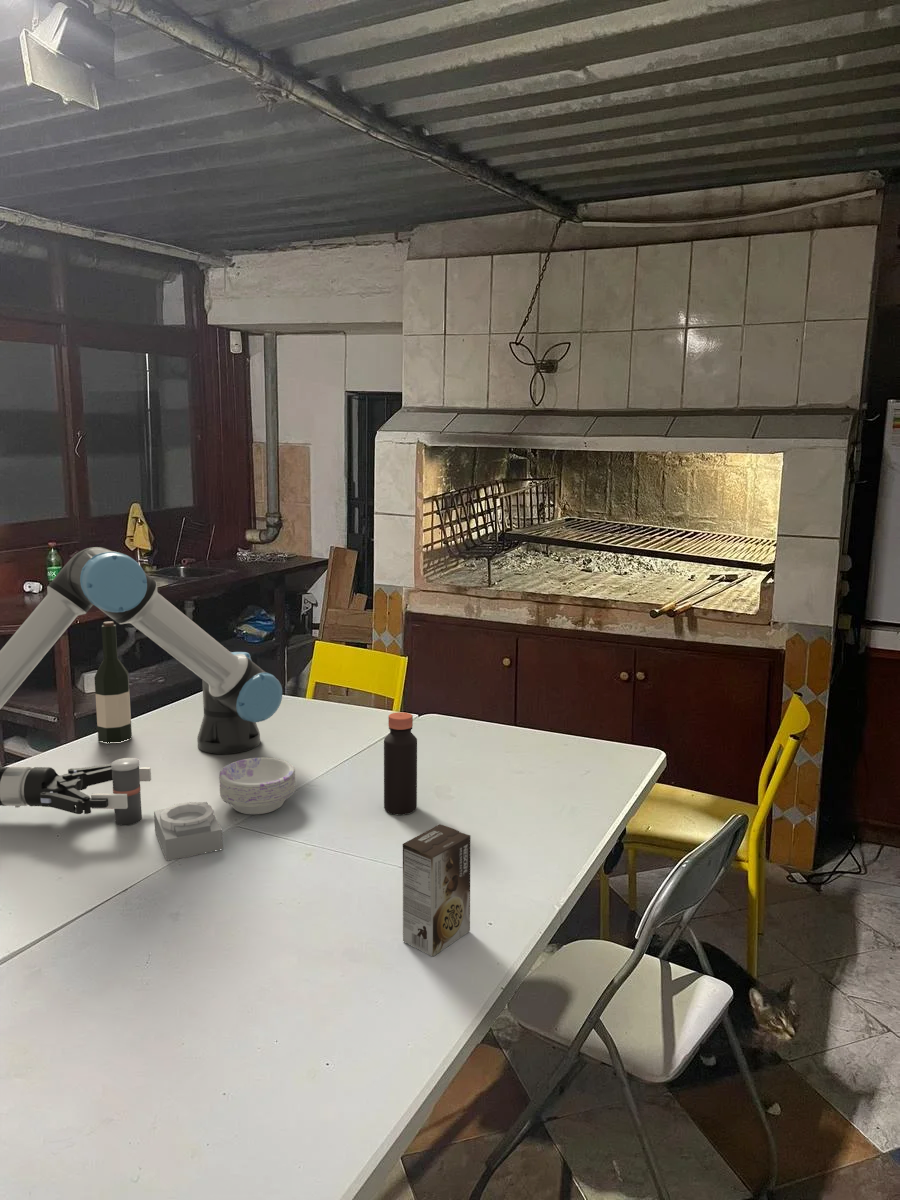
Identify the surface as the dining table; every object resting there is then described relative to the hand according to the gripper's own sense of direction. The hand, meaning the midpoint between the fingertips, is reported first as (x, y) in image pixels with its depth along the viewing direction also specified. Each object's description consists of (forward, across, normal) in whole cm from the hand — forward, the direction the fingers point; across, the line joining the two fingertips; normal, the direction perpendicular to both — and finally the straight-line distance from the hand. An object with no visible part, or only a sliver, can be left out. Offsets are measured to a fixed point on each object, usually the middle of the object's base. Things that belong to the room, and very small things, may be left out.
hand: (139, 787), depth 172 cm
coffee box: (+59, +41, -7) cm, 72 cm away
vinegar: (+51, -6, -7) cm, 52 cm away
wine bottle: (-23, -48, -7) cm, 54 cm away
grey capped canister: (-2, 0, -7) cm, 7 cm away
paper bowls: (+22, -8, -7) cm, 24 cm away
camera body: (+12, +8, -7) cm, 16 cm away
